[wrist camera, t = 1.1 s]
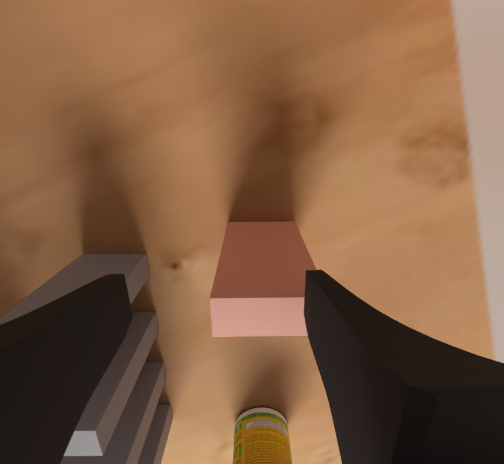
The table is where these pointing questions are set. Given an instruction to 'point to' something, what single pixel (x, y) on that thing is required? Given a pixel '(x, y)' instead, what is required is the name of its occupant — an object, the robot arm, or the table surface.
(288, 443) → the supplement bottle
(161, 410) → the domino
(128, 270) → the domino
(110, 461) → the domino
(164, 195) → the table surface
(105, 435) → the domino
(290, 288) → the red domino
